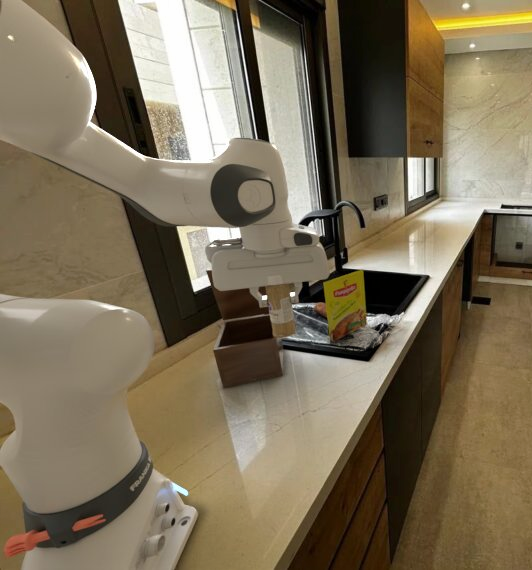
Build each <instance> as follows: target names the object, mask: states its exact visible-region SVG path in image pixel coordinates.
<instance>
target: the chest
mask: <svg viewBox="0 0 532 570" xmlns="http://www.w3.org/2000/svg"><path fill="white" fill-rule="evenodd" d="M214 343H215V344H214V346H213V349H212V352H213V355H214V359H215V363H216V366H217V370H218V374H219V377H220V382H221V385H222V388H227V387H228V388H229V387H233V386H239V385H242V384H243V385H244V384H246V383H247V384H248V383H252V382H256V381H257V382H258V381H261V380H262V381H263V380H266V379H271V378H275V377H281V376H283V375H284V342H283V338H277V337H274V336H273V329H272V323H271V319H270V314H263V315H257V316H250V317H243V318H236V319H229V320H223V322H222V324H221V326H220V330H219V332H218V336H217V338H216V342H214Z"/></svg>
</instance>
